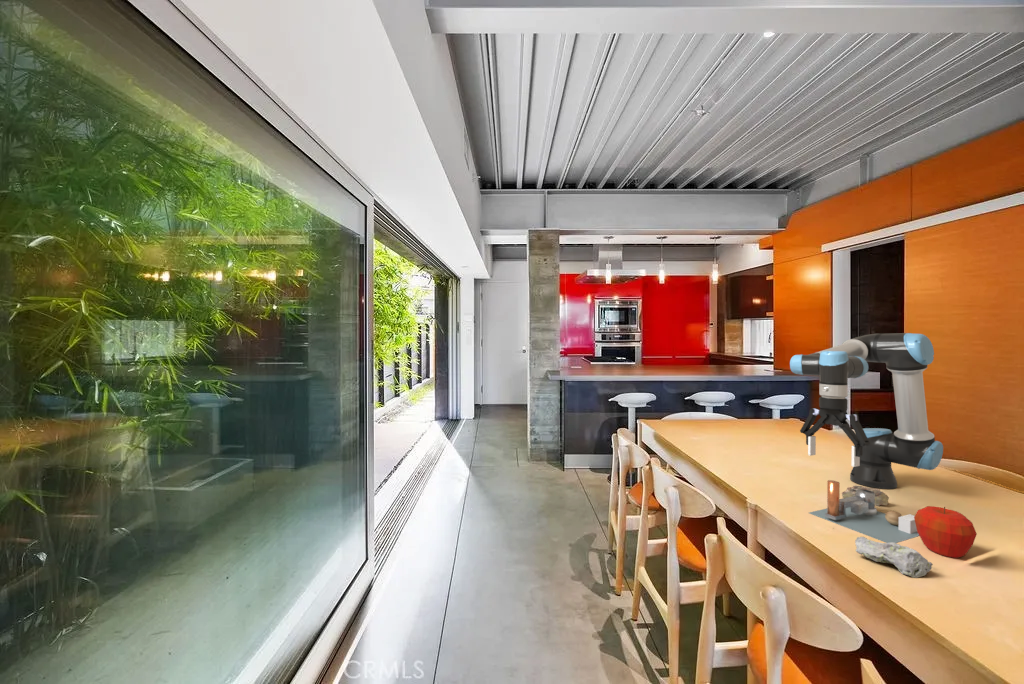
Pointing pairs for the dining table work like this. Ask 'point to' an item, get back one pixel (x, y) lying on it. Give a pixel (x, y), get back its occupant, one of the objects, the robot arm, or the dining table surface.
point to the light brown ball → (893, 517)
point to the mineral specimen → (894, 556)
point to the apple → (945, 531)
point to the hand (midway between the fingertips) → (832, 460)
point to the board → (876, 525)
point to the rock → (879, 496)
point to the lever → (847, 501)
